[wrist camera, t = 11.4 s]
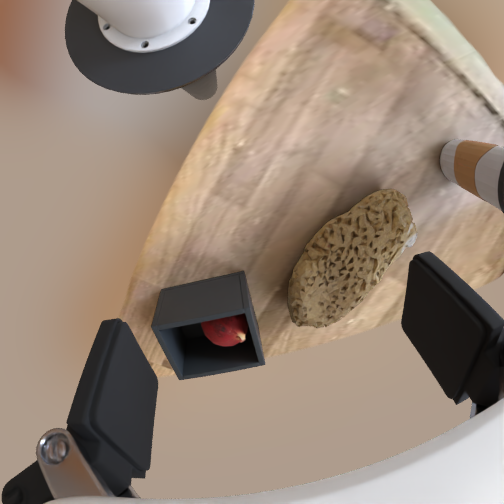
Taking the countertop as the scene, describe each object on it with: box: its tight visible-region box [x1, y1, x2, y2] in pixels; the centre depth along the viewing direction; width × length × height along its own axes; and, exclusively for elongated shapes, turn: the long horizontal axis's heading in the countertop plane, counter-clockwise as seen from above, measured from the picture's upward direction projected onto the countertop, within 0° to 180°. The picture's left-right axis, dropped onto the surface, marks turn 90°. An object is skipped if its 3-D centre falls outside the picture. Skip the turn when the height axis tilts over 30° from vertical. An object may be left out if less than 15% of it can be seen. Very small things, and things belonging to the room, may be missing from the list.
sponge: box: [288, 189, 417, 328], centre depth 37 cm, size 13×8×20 cm
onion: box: [201, 313, 248, 346], centre depth 37 cm, size 6×6×8 cm
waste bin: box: [151, 271, 265, 380], centre depth 38 cm, size 11×9×8 cm
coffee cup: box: [440, 139, 504, 213], centre depth 29 cm, size 8×8×15 cm
